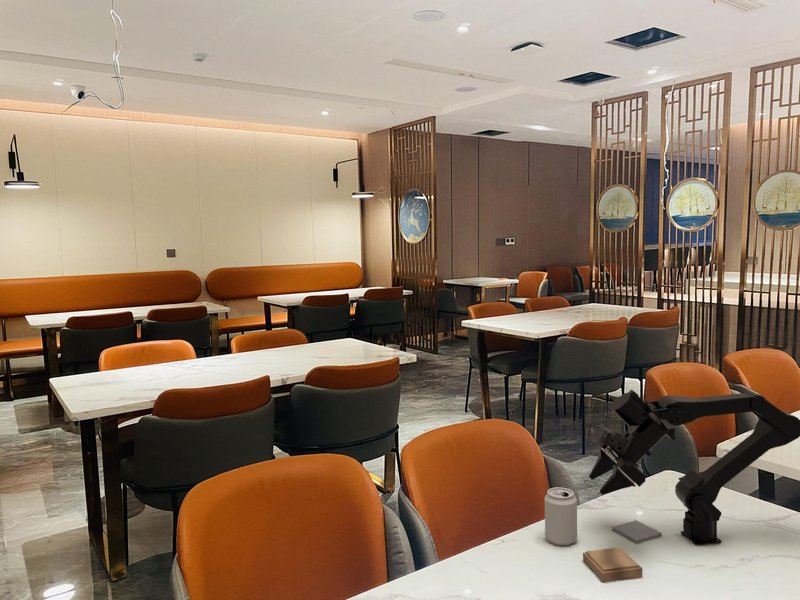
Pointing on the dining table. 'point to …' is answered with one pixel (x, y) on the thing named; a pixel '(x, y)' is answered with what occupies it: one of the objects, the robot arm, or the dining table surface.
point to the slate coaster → (636, 531)
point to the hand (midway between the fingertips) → (595, 485)
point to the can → (561, 516)
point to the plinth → (612, 564)
